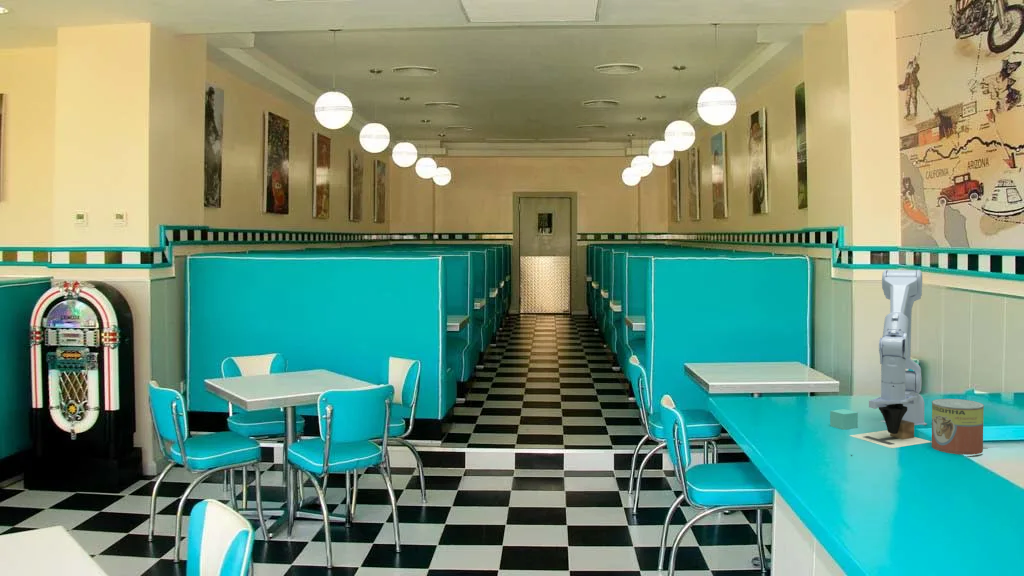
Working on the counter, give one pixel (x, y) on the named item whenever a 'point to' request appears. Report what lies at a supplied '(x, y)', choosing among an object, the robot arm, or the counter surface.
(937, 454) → the counter surface
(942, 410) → the canned food
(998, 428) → the counter surface
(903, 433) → the walnut block
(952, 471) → the counter surface
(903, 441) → the board
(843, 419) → the turquoise cube
